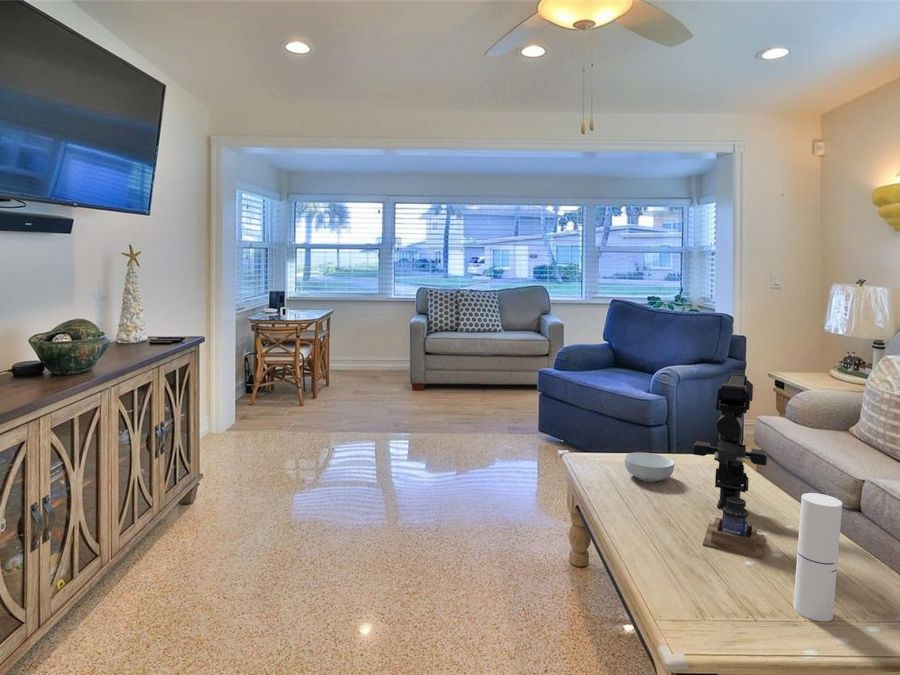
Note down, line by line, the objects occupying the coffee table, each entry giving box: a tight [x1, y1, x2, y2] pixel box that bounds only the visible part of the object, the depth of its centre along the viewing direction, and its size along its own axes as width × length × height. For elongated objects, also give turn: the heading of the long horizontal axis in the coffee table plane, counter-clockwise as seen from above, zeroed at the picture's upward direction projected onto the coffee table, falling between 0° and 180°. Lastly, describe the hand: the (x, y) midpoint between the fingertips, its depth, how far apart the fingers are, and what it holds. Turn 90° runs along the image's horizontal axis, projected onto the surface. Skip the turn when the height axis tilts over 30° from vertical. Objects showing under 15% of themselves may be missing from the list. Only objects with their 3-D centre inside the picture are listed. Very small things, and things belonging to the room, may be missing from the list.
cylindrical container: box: [792, 492, 843, 622], centre depth 118 cm, size 7×7×25 cm
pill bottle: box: [721, 497, 749, 537], centre depth 150 cm, size 6×6×11 cm
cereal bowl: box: [624, 452, 675, 483], centre depth 198 cm, size 17×17×7 cm
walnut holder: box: [702, 517, 765, 560], centre depth 151 cm, size 14×14×4 cm
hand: (727, 481), depth 160 cm, fingers closed
